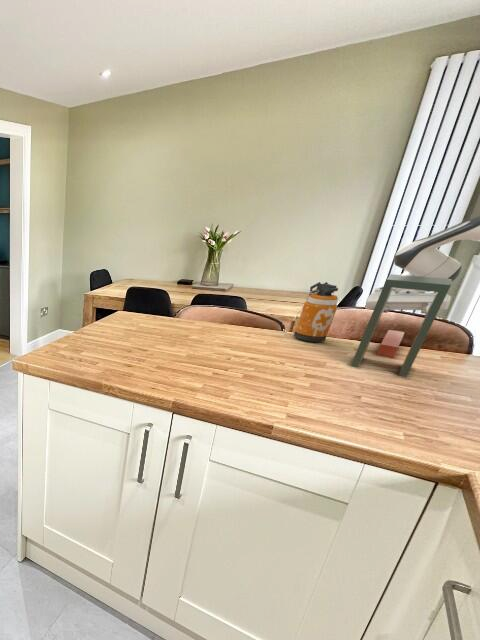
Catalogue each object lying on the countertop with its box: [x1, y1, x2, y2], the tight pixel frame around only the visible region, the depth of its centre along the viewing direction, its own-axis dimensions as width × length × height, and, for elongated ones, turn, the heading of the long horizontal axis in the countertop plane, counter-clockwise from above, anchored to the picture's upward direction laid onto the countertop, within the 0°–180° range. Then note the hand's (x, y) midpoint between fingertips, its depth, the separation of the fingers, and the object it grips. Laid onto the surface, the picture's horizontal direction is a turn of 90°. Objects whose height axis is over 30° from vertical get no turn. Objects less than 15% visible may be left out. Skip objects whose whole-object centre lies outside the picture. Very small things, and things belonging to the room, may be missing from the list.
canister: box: [293, 281, 339, 343], centre depth 141 cm, size 9×11×20 cm
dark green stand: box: [350, 273, 453, 378], centre depth 115 cm, size 12×11×26 cm
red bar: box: [375, 329, 405, 359], centre depth 133 cm, size 4×22×4 cm, turn 131°
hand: (404, 311), depth 138 cm, fingers open, 8 cm apart
